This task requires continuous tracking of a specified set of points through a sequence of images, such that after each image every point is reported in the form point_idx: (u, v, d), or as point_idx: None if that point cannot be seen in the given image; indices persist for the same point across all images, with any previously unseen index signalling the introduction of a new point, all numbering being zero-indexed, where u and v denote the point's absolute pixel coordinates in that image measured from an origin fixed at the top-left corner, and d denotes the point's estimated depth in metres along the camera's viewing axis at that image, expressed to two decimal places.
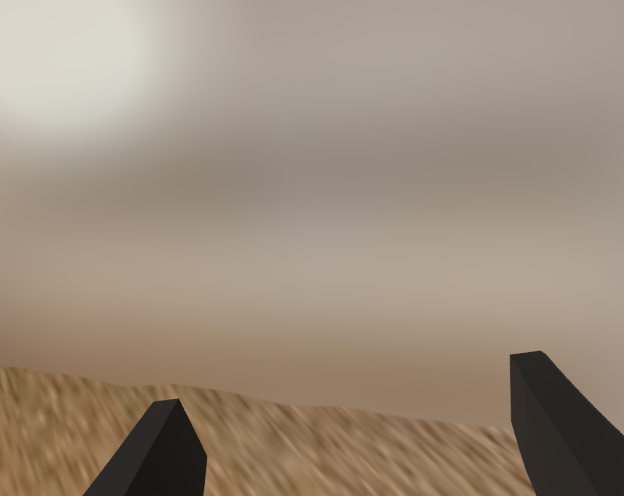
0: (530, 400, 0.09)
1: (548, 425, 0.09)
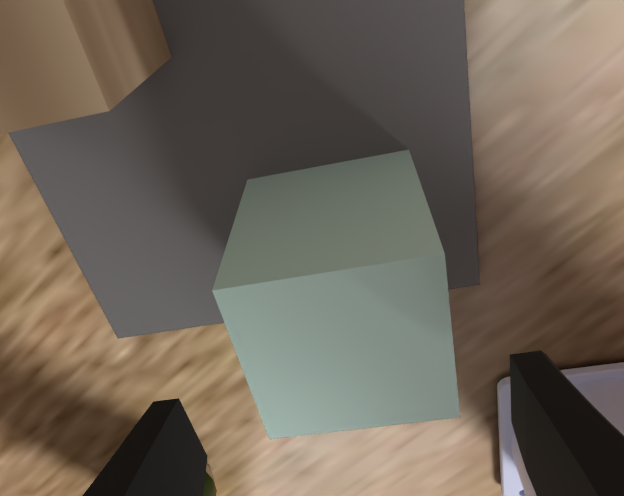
0: (530, 400, 0.09)
1: (548, 425, 0.09)
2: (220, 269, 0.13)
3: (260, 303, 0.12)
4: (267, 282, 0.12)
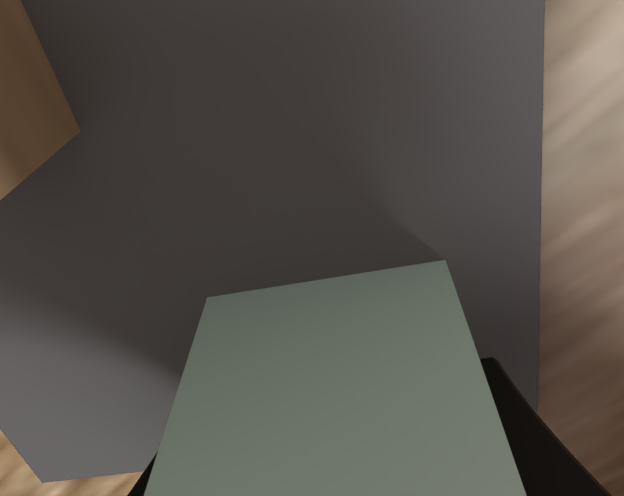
0: None
1: None
2: None
3: None
4: None
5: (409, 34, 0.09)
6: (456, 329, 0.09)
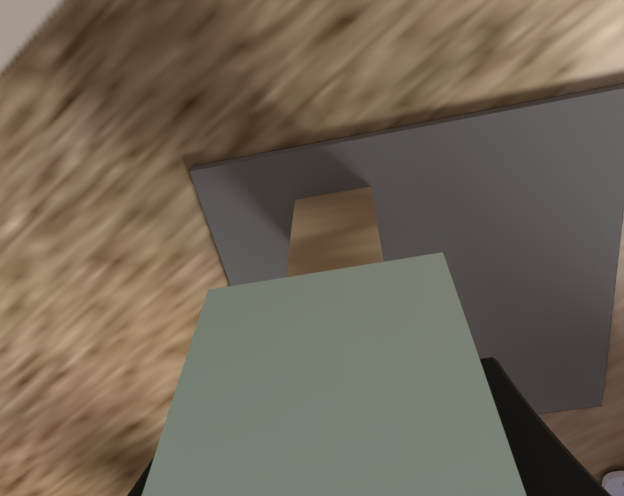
0: None
1: None
2: None
3: None
4: None
5: (558, 211, 0.18)
6: (453, 319, 0.09)
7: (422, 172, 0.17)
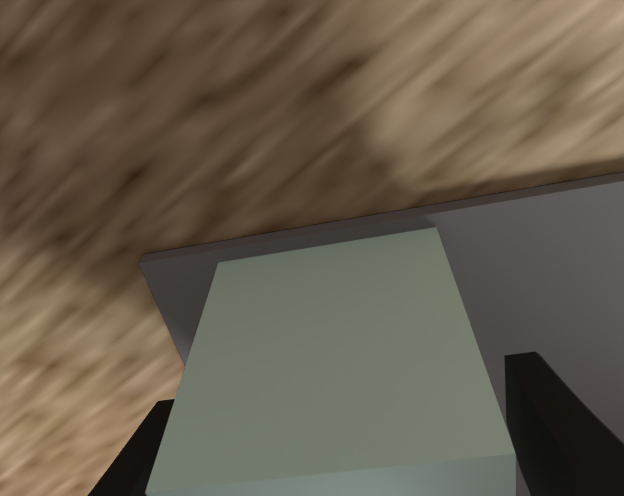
0: (524, 401, 0.09)
1: (541, 426, 0.09)
2: (163, 443, 0.08)
3: None
4: (230, 485, 0.07)
5: None
6: (444, 283, 0.10)
7: (456, 265, 0.13)
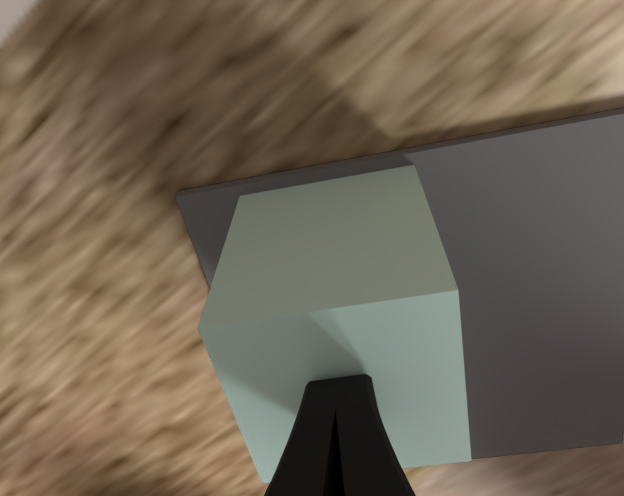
0: None
1: None
2: (207, 302, 0.11)
3: (251, 342, 0.11)
4: (259, 320, 0.10)
5: (580, 240, 0.16)
6: (417, 199, 0.13)
7: (431, 197, 0.16)
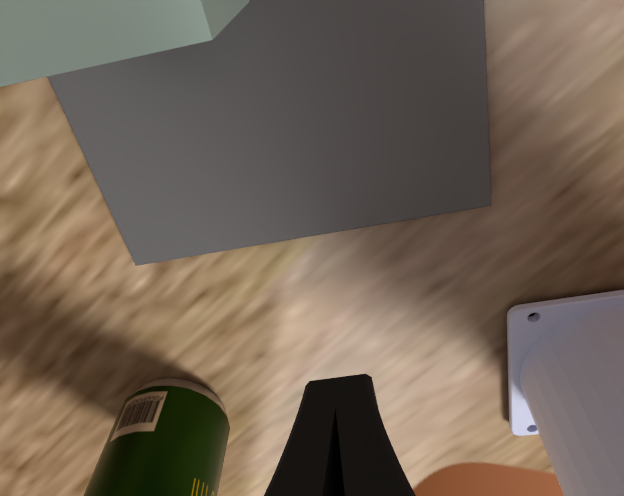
0: None
1: None
2: None
3: None
4: None
5: None
6: None
7: None
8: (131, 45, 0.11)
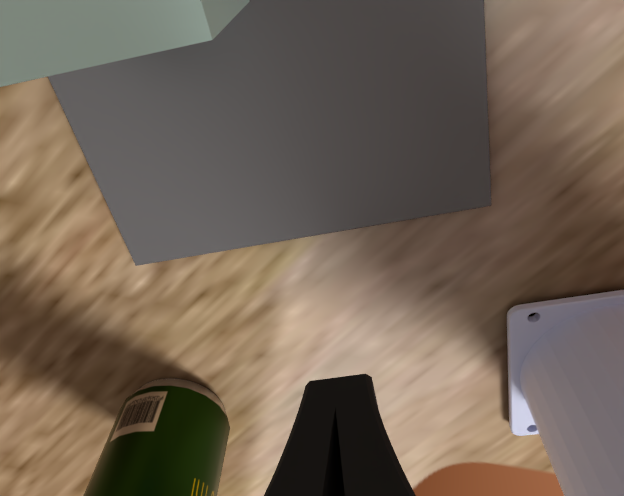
0: None
1: None
2: None
3: None
4: None
5: None
6: None
7: None
8: (131, 45, 0.11)
